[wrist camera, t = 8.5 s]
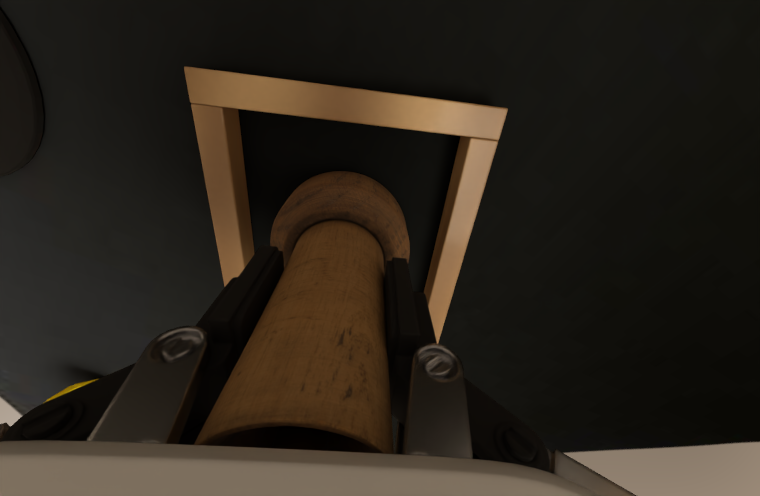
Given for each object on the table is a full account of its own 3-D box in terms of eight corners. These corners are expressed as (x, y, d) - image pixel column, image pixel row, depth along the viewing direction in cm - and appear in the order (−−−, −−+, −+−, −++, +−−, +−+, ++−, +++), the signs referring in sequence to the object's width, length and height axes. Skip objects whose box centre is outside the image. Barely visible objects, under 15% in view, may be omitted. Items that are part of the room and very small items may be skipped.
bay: (494, 106, 12) (509, 108, 11) (433, 328, 19) (437, 346, 18) (204, 68, 12) (182, 66, 10) (242, 314, 18) (232, 332, 17)
